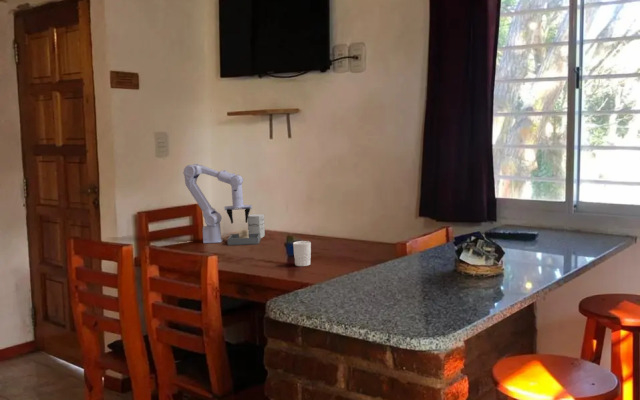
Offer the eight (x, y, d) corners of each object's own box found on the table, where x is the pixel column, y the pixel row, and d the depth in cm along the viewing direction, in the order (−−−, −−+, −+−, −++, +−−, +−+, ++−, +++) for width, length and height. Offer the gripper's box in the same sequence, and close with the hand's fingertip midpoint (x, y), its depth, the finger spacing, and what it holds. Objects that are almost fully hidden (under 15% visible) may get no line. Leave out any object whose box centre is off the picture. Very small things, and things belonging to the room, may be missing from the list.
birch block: (239, 242, 347) (238, 231, 346) (240, 241, 351) (240, 230, 350) (247, 242, 346) (247, 231, 346) (248, 240, 351) (248, 229, 350)
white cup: (301, 262, 297) (301, 240, 295) (315, 264, 292) (314, 241, 290) (290, 265, 291) (289, 243, 289) (303, 267, 286) (302, 244, 284)
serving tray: (227, 245, 343) (227, 238, 343) (231, 240, 357) (231, 234, 356) (258, 244, 343) (257, 237, 342) (260, 239, 357) (260, 233, 356)
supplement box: (247, 238, 362) (246, 215, 361) (253, 235, 369) (252, 213, 368) (260, 238, 360) (259, 215, 359) (265, 236, 367) (264, 213, 366)
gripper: (222, 199, 345) (224, 224, 347) (250, 197, 345) (252, 223, 347) (224, 197, 352) (226, 222, 354) (251, 196, 352) (253, 221, 354)
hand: (239, 222), depth 351 cm, fingers open, 7 cm apart
